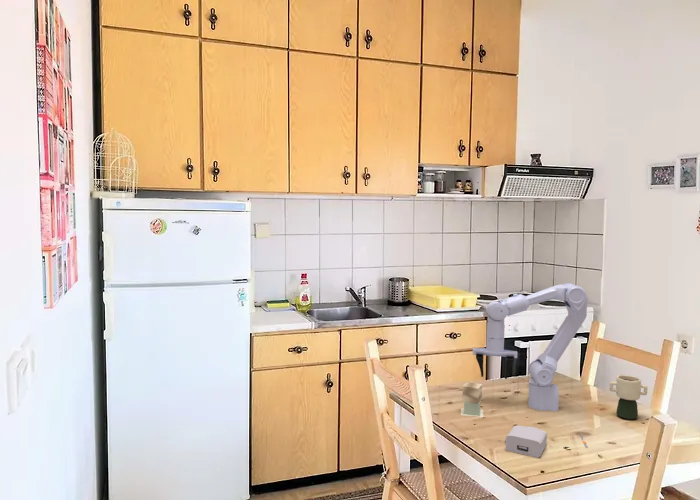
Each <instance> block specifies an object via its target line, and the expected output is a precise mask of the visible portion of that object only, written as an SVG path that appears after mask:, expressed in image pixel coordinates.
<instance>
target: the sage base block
mask: <svg viewBox="0 0 700 500" xmlns="http://www.w3.org/2000/svg"><path fill="white" fill-rule="evenodd" d="M463 403H464V404H463V408H464V414H467V415H477V416H480V409H481V401H480V402H479V403H478V404H475V403H469V402H463Z"/></svg>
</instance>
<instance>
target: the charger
mask: <svg viewBox="0 0 700 500" xmlns="http://www.w3.org/2000/svg"><path fill="white" fill-rule="evenodd" d="M547 442H548V433H547V432H546V431H545V430H543V429H539V428H538V427H533V426H524V425H519V424H517V425H514V426H513V427H512V429H510V431H509V432H508V434H507V436H505V450H506V451H507V452H511V453H516V454H520V455H525V456H527V457H528V456H529V457H532V458H537V459H539V458H540V457H541V456H542V454H543V452H544V450H545V448H546V447H547Z"/></svg>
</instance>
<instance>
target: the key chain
mask: <svg viewBox="0 0 700 500" xmlns="http://www.w3.org/2000/svg"><path fill="white" fill-rule="evenodd" d="M579 435H580V439H581V441H582V443H583V445H584V447H585V449H589V447H588V445H587V442H586V440H585V441H584V436H583V434H582V433H579ZM569 448H570V447H569V446H563V449H564V450H567V449H569Z"/></svg>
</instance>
